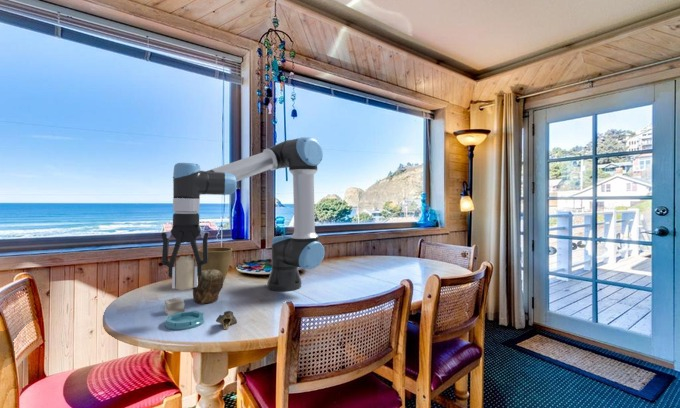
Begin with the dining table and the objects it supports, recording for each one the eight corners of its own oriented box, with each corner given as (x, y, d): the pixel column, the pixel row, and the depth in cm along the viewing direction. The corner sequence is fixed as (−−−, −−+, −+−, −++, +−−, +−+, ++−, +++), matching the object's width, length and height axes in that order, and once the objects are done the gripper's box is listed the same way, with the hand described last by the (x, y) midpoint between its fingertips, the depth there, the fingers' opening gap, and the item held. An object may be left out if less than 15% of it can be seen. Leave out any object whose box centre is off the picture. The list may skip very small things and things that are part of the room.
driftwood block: (180, 308, 116) (180, 297, 116) (184, 312, 112) (184, 301, 112) (164, 311, 113) (164, 300, 113) (168, 315, 109) (168, 303, 109)
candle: (189, 284, 106) (190, 253, 106) (198, 287, 103) (198, 255, 103) (172, 287, 102) (172, 255, 102) (180, 290, 99) (180, 257, 99)
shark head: (236, 334, 98) (241, 312, 98) (214, 332, 96) (218, 310, 96) (236, 322, 105) (240, 301, 105) (215, 320, 103) (219, 300, 103)
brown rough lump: (212, 306, 119) (213, 273, 119) (185, 304, 121) (186, 271, 121) (228, 297, 130) (228, 267, 129) (203, 295, 132) (204, 265, 132)
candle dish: (205, 315, 110) (205, 309, 110) (202, 327, 99) (202, 321, 99) (169, 318, 106) (169, 312, 106) (161, 331, 96) (161, 324, 96)
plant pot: (231, 287, 144) (231, 251, 144) (194, 289, 140) (194, 252, 140) (232, 279, 159) (233, 246, 158) (199, 280, 155) (200, 247, 154)
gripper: (218, 212, 109) (217, 282, 109) (155, 212, 103) (154, 285, 103) (217, 213, 102) (216, 287, 102) (149, 213, 96) (148, 291, 96)
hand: (185, 286), depth 103 cm, fingers closed on candle, 5 cm apart
